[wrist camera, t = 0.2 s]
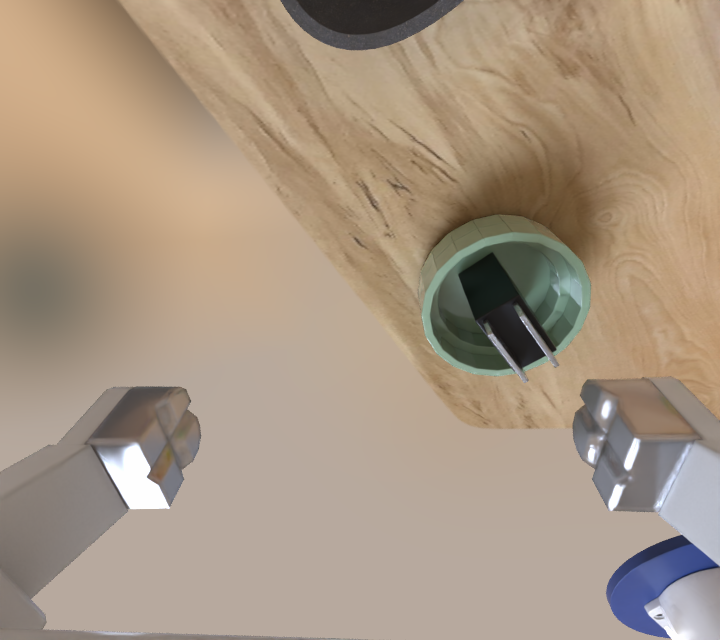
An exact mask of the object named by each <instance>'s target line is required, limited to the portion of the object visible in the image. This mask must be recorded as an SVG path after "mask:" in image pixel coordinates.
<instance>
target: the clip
mask: <svg viewBox="0 0 720 640" xmlns="http://www.w3.org/2000/svg"><path fill="white" fill-rule="evenodd" d="M458 276H459V279H460V282H461V284H462V287H463V290H464V292H465V295H466V298H467V301H468V303H469V306H470V309H471V311H472V314H473V317H474V319H475V322H476V323H477V324H478V326H479V327H480V328H481V330H482V331H483V332H484V333H485V335H486V336H487V337H488V339H489V340H490V341H491V343H492V344H493V345H494V346H495V348H496V349H497V350H498V352H499V353H500V354H501V356H502V357H503V358H504V360H505V361H506V362H507V363H508V365H509V366H510V367H511V369H512V370H513V371H514V372H516V373H517V374H518V375H519V377H520V378H521V379H522V381H523V382H524V383H526V382H528V378H527V376H526V374H525V372H524V370H523V368H524V367H526V366H528V365H530V364H532V363H534V362H535V361H537V360H539V359H541V358H543V357H545V356H547V357H548V358H549V360H550V361H551V363H552V364H553V366H554V367H557V366H559V363H558V362H557V360H556V358H555V357H554V355H553V354H552V353H553V352H555V351H556V350H557V348H556V347H555V345H554V344H553V342H552V341H551V339H550V338H549V336H548V334H547V333H546V331H545V330H544V328H543V327H542V325H541V323H540V322H539V320H538V319H537V317H536V316H535V314H534V312H533V311H532V309H531V308H530V306H529V305H528V303H527V301H526V300H525V298H524V297H523V295H522V294H521V293H520V291H519V290H518V288H517V287H516V285H515V284H514V282H513V281H512V279H511V278H510V276H509V275H508V273H507V272H506V270H505V269H504V268H503V266H502V265H501V263H500V262H499V260H498V259H497V257H496V256H495V254H494V253H493V252H492V253H490V254H489V255H487V256H486V257H484V258H482V259H481V260H479V261H478V262H476V263H475V264H473V265H472V266H470V267H469V268H467V269H466V270H464V271H462V272H461V273H459V274H458Z"/></svg>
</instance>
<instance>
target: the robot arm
mask: <svg viewBox="0 0 720 640" xmlns="http://www.w3.org/2000/svg"><path fill="white" fill-rule="evenodd" d="M580 396H581V398H582V400H583V401H584V403H585V405H584V406H582V407H581V408H580V409H579V410H578V411H576V412H575V416H574V421H573V439H574V442H575V445H576V449H577V451H578V453H579V455H580V457H581V459H582V460H583V461H584V462H586V463H587V464H588V465H590V466H591V467H593V468H594V469H595V472H594V475H593V478H592V480H593V482H594V484H595V486H596V488H597V490H598V491H599V493H600V495H601V497H602V499H603V501H604V503H605V505H606V506H607V508H608V510H609V511H632V512H635V511H636V512H659V516H661V517H662V518H663V519H664V520H665V521H666V522H668V523H669V524H670V525H671V526H672V527H674V528H675V529H676V530H677V531H678V532H680V533H681V534H682V535H683V536H684V537H686V538H687V539H688V540H689V541H690V542H691V543H693V544H694V545H695V546H696V547H697V548H699V549H700V550H701V551H702V552H703V553H705V554H706V555H707V556H708V557H709V558H711V559H712V560H713V561H714V562H715V563H716V564H718V565H719V566H720V421H719V420H718V419H717V418H716V417H715V416H714V415H713V414H712V413H711V412H710V411H709V410H708V409H707V408H706V407H705V406H704V405H703V404H702V403H701V402H700V401H699V400H698V399H697V398H696V397H695V395H694V394H693V393H692V392H691V391H690V390H689V389H688V388H687V387H686V386H685V385H684V384H683V383H682V382H681V381H680V380H678V379H676V378H673V377H671V376H668V377H643V378H629V379H588V380H587V381H586V382H585V383H584V385H583V387H582V390H581V394H580ZM190 403H191V400H190V397H189V395H188V393H187V390H186V389H184V388H182V387H113V388H110V389H107V390H106V391H105V392H104V393H103V394H102V395H101V396H100V397H99V398H98V399H97V401H96V402H95V403H94V404H93V405H92V406H91V407H90V408H89V409H88V411H87V412H86V413H85V414H84V415H83V416H82V417H81V418H80V419H79V420H78V421H77V423H76V424H75V425H74V426H73V427H72V428H71V429H70V430H69V431H68V432H67V433H66V435H65V436H64V437H63V438H62V439H61V440H60V441H59V443H57V445H48V446H46V447H44V448H42V449H40V450H39V451H37V452H35V453H33V454H32V455H30V456H28V457H26V458H24V459H22V460H21V461H19V462H17V463H15V464H14V465H12V466H10V467H8V468H6V469H4V470H3V471H1V472H0V640H364V639H335V638H302V637H270V636H269V637H268V636H237V635H205V634H172V633H140V632H138V633H137V632H108V631H76V630H73V631H72V630H43V627H44V626H45V624H46V616H45V614H44V613H43V612H42V610H41V609H40V608H39V607H38V606H37V605H36V604H35V603H34V602H33V601H32V600H31V598H33V597H34V596H35V595H36V594H37V593H38V592H39V591H40V590H41V589H43V587H45V586H46V585H47V584H48V583H49V582H50V581H51V580H53V579H54V578H55V577H56V576H57V575H58V574H59V573H60V572H61V571H63V570H64V568H66V567H67V566H68V565H69V564H70V563H71V562H73V561H74V560H75V559H76V558H77V557H78V556H79V555H80V554H81V553H82V552H84V551H85V550H86V549H87V548H88V547H89V546H90V545H91V544H92V543H94V542H95V541H96V540H97V539H98V538H99V537H100V536H101V535H102V534H104V533H105V532H106V531H107V530H108V529H109V528H110V527H111V526H112V525H114V523H116V522H117V521H118V520H119V519H120V518H121V517H122V516H124V515H125V514H126V513H127V512H128V509H142V508H143V509H146V508H169V507H170V506H171V504H172V502H173V500H174V498H175V496H176V494H177V492H178V490H179V488H180V486H181V484H182V482H183V480H184V477H183V474H182V469H184V468H185V467H186V466H187V465H189V464H190V463H191V462H193V460H194V458H195V456H196V454H197V452H198V449H199V444H200V439H201V432H200V424H199V421H198V419H197V417H196V416H195V415H194V414H192V413H191V412H190V411H189V410H187V409H188V406H189V405H190ZM644 608H645V610H646V612H647V613H648V615H649V616H650V617H651V618H652V619H654V620H655V621H656V622H657V623H658V624H659V625H660V626H661V627H662V628H664V629H665V630H666V631H667V633H668V635H669V636H670V637H671V638H672V639H673V640H720V567H719V568H712V569H707V570H703V571H699V572H696V573H693V574H690V575H688V576H685V577H683V578H681V579H679V580H677V581H675V582H674V583H672V584H671V585H669V586H668V587H667V588H666V589H665V590H664V591H663V592H662V594H661V595H660V596H659V597H658V598H656V599H654V600H652V601H650V602H649V603H647V604H646V605H645V606H644ZM365 640H366V639H365Z"/></svg>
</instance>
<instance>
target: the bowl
mask: <svg viewBox="0 0 720 640" xmlns="http://www.w3.org/2000/svg"><path fill="white" fill-rule="evenodd" d="M462 1H463V0H281V2H282V4H283V5H284V7H285V9H286V10H287V12H288V13H289V14H290V16H291V17H292V18H293V19H294V21H295V22H296V23H297V24H298V25H299V26H300V27H301V28H302V29H303V30H304V31H306V32H307V33H308V34H310V35H311V36H312V37H314V38H315V39H317V40H319V41H321V42H323V43H325V44H327V45H330V46H333V47H336V48H341V49H346V50H368V49H376V48H380V47H384V46H387V45H391V44H393V43H396V42H399V41H401V40H404V39H406V38H408V37H410V36H412V35H414V34H416V33H418V32H420V31H421V30H423V29H425V28H426V27H428V26H429V25H431V24H433V23H434V22H436V21H437V20H439V19H440V18H441V17H443V16H444V15H446V14H447V13H448V12H450V11H451V10H452V9H454V8H455V7H456V6H457V5H458V4H460V3H461V2H462Z"/></svg>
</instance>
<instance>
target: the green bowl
mask: <svg viewBox="0 0 720 640" xmlns="http://www.w3.org/2000/svg"><path fill="white" fill-rule="evenodd" d="M492 252H493V253H494V254H495V256H496V257H497V259H498V260H499V262H500V263H501V265H502V266H503V268H504V269H505V270H506V272H507V273H508V275H509V276H510V278H511V279H512V281H513V282H514V284H515V285H516V287H517V288H518V290H519V291H520V293H521V294H522V295H523V297H524V298H525V300H526V301H527V303H528V305H529V306H530V308H531V309H532V311H533V312H534V314H535V316H536V317H537V319H538V320H539V322H540V323H541V325H542V327H543V328H544V330H545V331H546V333H547V334H548V336H549V338H550V339H551V341H552V342H553V344H554V345H555V347H556V348H557V350H556V351H555V352H553V353H552V354H553V355H554V356H555V355H557V354H558V353H560V352H561V351H562V350H564V349H565V348H566V347H567V346H568V345H569V343H570V342H571V341H572V340H573V339H574V337H575V336H576V335H577V334H578V333H579V331H580V330H581V328H582V326H583V324H584V321H585V319H586V316H587V314H588V311H589V309H590V296H591V283H590V280H589V277H588V275H587V272H586V269H585V267H584V264H583V262H582V261H581V260H580V259H579V258H578V257H577V256H576V255H575V254H574V253H573V252H572V251H571V250H570V249H569V248H568V247H567V246H566V245H565V244H564V243H563V242H562V241H561V240H560V239H559V238H558V237H557V236H555V235H554V234H553V233H552V232H551V231H550V230H549V229H548V228H547V227H545V226H544V225H541V224H539V223H537V222H535V221H532V220H530V219H528V218H526V217H523V216H512V215H501V214H498V215H492V216H488V217H483V218H479V219H474V220H471V221H469V222H468V223H466V224H464V225H462V226H460V227H458V228H457V229H455V230H453V231H451V232H450V233H448V234H447V235H446V236H445V237H444V238H443V239H442V240H441V241H440V242H439V243H438V244H437V245H436V246H435V247H434V248H433V249H432V251H431V252H430V254H429V256H428V258H427V260H426V262H425V264H424V266H423V268H422V269H421V274H420V280H419V286H418V297H419V303H420V310H421V316H422V321H423V326H424V331H425V335H426V338H427V339H428V341H429V342H430V344H431V345H432V347H433V349H434V350H435V352H436V353H437V354H438V355H439V356H440V357H442V358H443V359H444V360H446V361H447V362H448V363H450V364H451V365H452V366H454V367H456V368H459V369H462V370H464V371H467V372H470V373H472V374H478V375H489V376H503V375H509V374H516V372H514V371H513V370H512V369H511V367H510V366H509V365H508V363H507V362H506V361H505V360H504V358H503V357H502V356H501V354H500V353H499V352H498V350H497V349H496V348H495V346H494V345H493V344H492V343H491V341H490V340H489V339H488V337H487V336H486V335H485V333H484V332H483V331H482V330H481V328H480V327H479V326H478V324H477V323H476V322H475V319H474V317H473V314H472V311H471V309H470V306H469V303H468V301H467V298H466V295H465V292H464V290H463V287H462V284H461V282H460V279H459V276H458V274H459V273H461V272H462V271H464V270H466V269H467V268H469V267H470V266H472V265H473V264H475V263H476V262H478V261H479V260H481V259H482V258H484V257H486V256H487V255H489V254H490V253H492ZM547 361H549V358H548V357H547V356H545V357H543V358H541V359H539V360H537V361H535V362H534V363H532V364H530V365H528V366H526V367H524V368H523V370H524V371H527V370H529V369H532V368H534V367H537V366H539V365H542V364H544V363H546V362H547Z"/></svg>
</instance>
